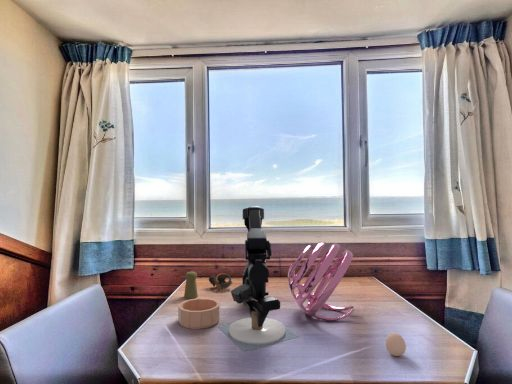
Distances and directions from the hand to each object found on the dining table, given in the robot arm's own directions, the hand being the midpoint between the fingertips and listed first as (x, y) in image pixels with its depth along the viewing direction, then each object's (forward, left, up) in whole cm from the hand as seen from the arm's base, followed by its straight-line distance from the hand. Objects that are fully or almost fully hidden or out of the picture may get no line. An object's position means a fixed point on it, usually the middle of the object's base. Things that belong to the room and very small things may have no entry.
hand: (257, 324), depth 99 cm
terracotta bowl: (+13, -18, -3) cm, 22 cm away
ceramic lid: (0, 0, -2) cm, 2 cm away
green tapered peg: (+7, -47, -3) cm, 48 cm away
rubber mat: (0, 0, -3) cm, 3 cm away
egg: (-26, +31, -3) cm, 41 cm away
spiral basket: (-29, -3, -3) cm, 29 cm away
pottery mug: (-9, -53, -3) cm, 54 cm away
